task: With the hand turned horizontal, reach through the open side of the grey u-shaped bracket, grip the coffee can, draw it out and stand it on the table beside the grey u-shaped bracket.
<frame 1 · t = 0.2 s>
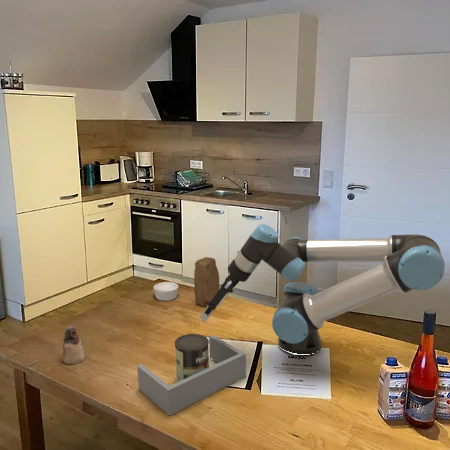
hand: (209, 311, 157), 15 cm above the table, tool tilted 35°, fingers open, 13 cm apart
figurine: (74, 359, 157), on the table
grey u-shaped bracket: (193, 382, 143), on the table
block: (207, 302, 202), on the table
ramekin: (166, 297, 208), on the table
coffee can: (193, 383, 143), on the table
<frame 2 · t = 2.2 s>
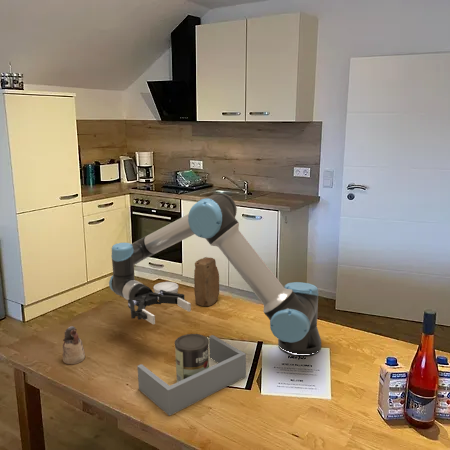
hand: (172, 313, 145), 20 cm above the table, tool horizontal, fingers open, 13 cm apart
nothing on the table moved.
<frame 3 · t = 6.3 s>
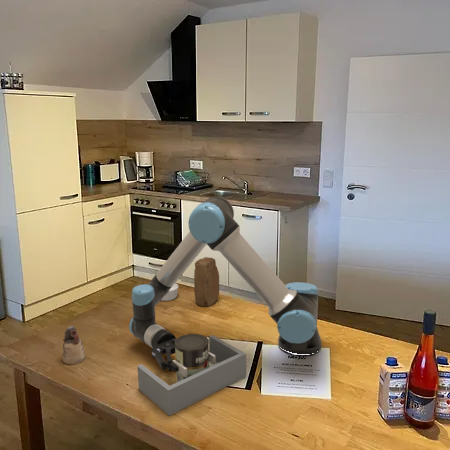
hand: (200, 366, 138), 8 cm above the table, tool horizontal, fingers closed on coffee can, 10 cm apart
coffee can: (193, 383, 143), on the table, touching gripper
everything else where it was.
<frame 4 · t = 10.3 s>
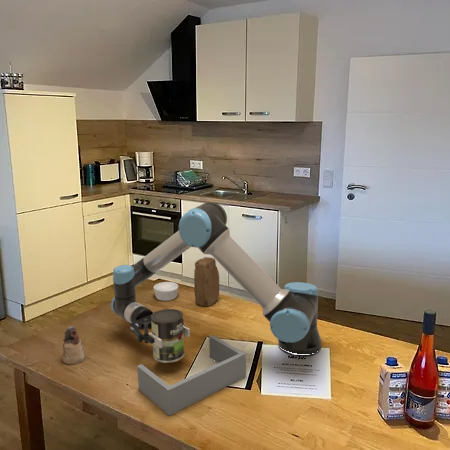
hand: (175, 338, 146), 12 cm above the table, tool horizontal, fingers closed on coffee can, 10 cm apart
coffee can: (169, 355, 152), point 4 cm above the table, touching gripper
everything else where it was.
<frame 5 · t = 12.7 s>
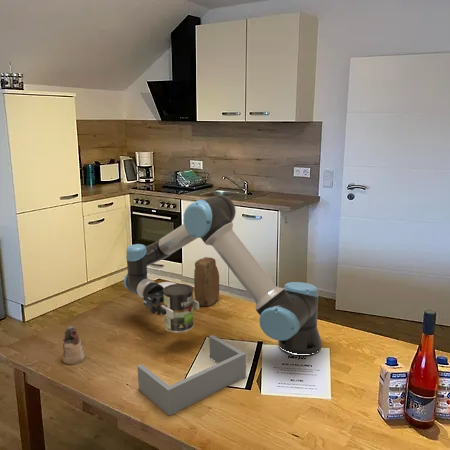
hand: (185, 310, 158), 15 cm above the table, tool horizontal, fingers closed on coffee can, 10 cm apart
coffee can: (179, 326, 163), point 8 cm above the table, touching gripper
everything else where it was.
when the fingers open (9 cm above the table, at t = 14.6 s): coffee can drops 1 cm, on the table.
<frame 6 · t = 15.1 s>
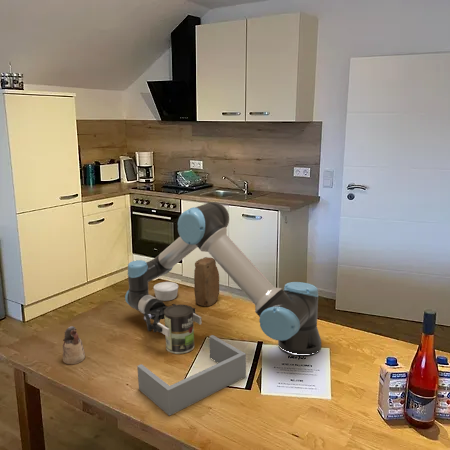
hand: (185, 326, 160), 9 cm above the table, tool horizontal, fingers open, 13 cm apart
coffee can: (180, 347, 165), on the table
everything else where it was.
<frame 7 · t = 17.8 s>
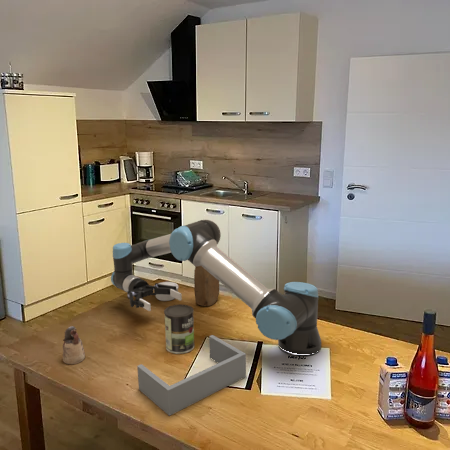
hand: (165, 302, 169), 13 cm above the table, tool horizontal, fingers open, 13 cm apart
nothing on the table moved.
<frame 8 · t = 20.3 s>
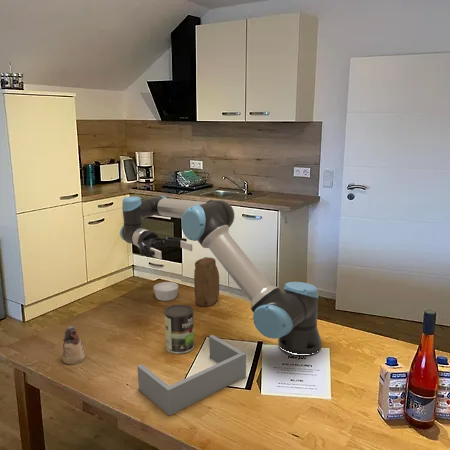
hand: (176, 251, 168), 32 cm above the table, tool horizontal, fingers open, 13 cm apart
nothing on the table moved.
at the end: coffee can inside the target area (0.2 cm from its centre), on the table; coffee can tilted 0°; the gripper is holding nothing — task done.
